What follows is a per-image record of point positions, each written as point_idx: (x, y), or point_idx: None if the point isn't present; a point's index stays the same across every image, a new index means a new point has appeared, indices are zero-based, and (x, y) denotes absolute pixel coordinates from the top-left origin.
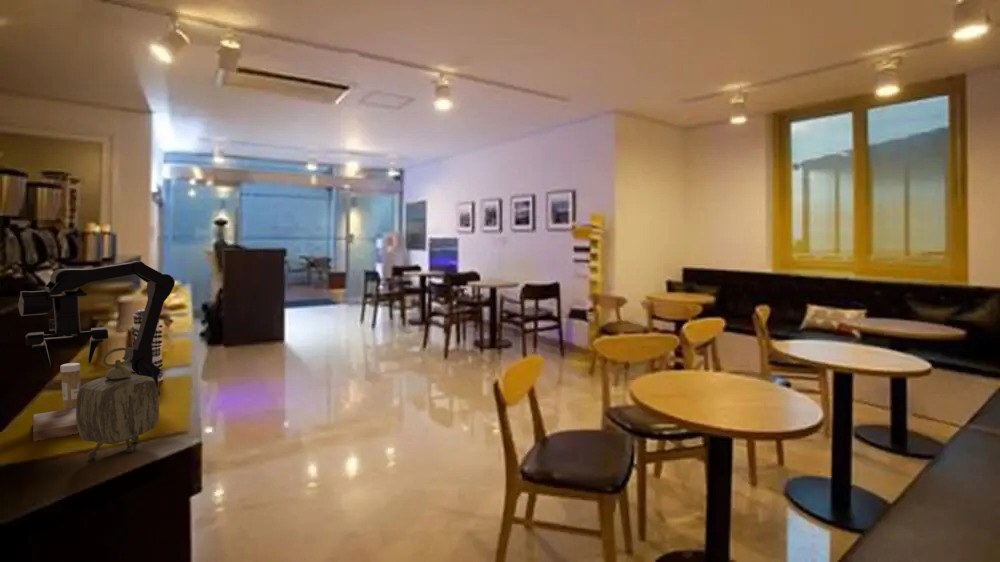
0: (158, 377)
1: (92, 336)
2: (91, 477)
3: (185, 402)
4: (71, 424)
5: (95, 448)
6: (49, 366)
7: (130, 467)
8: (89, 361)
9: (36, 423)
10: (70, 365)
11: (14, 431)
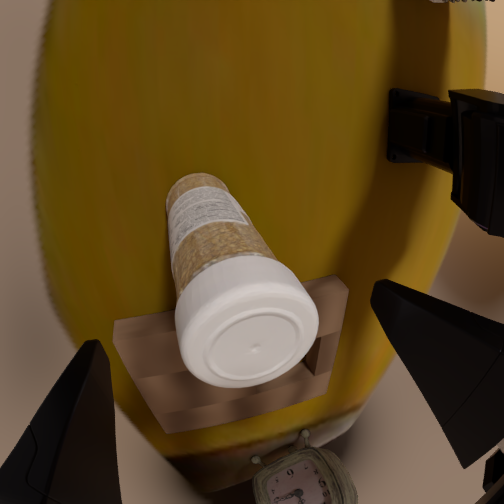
0: (452, 2)
1: (486, 490)
2: (252, 472)
3: (432, 272)
4: (227, 420)
5: (261, 465)
6: (105, 371)
7: None
8: (380, 316)
9: (153, 404)
10: (257, 379)
11: None
